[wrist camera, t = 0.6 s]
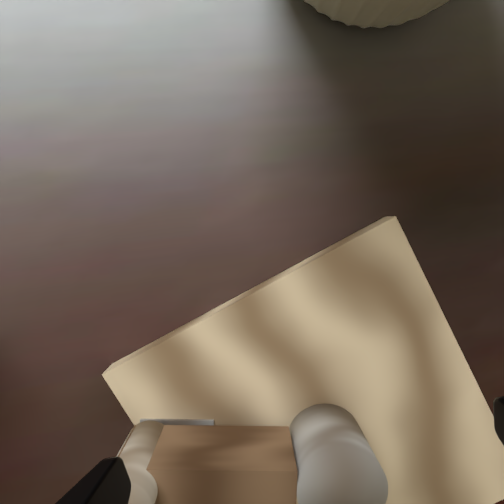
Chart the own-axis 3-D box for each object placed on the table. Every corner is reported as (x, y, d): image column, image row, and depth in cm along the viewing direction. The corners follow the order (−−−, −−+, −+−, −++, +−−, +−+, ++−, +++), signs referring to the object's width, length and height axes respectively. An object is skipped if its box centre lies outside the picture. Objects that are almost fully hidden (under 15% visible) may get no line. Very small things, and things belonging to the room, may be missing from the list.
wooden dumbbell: (362, 403, 20) (400, 465, 15) (358, 472, 20) (393, 553, 15) (129, 401, 20) (89, 462, 15) (131, 470, 20) (93, 552, 15)
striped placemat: (246, 599, 24) (246, 627, 22) (99, 370, 21) (87, 383, 20) (509, 469, 23) (529, 489, 21) (385, 216, 21) (396, 216, 19)
